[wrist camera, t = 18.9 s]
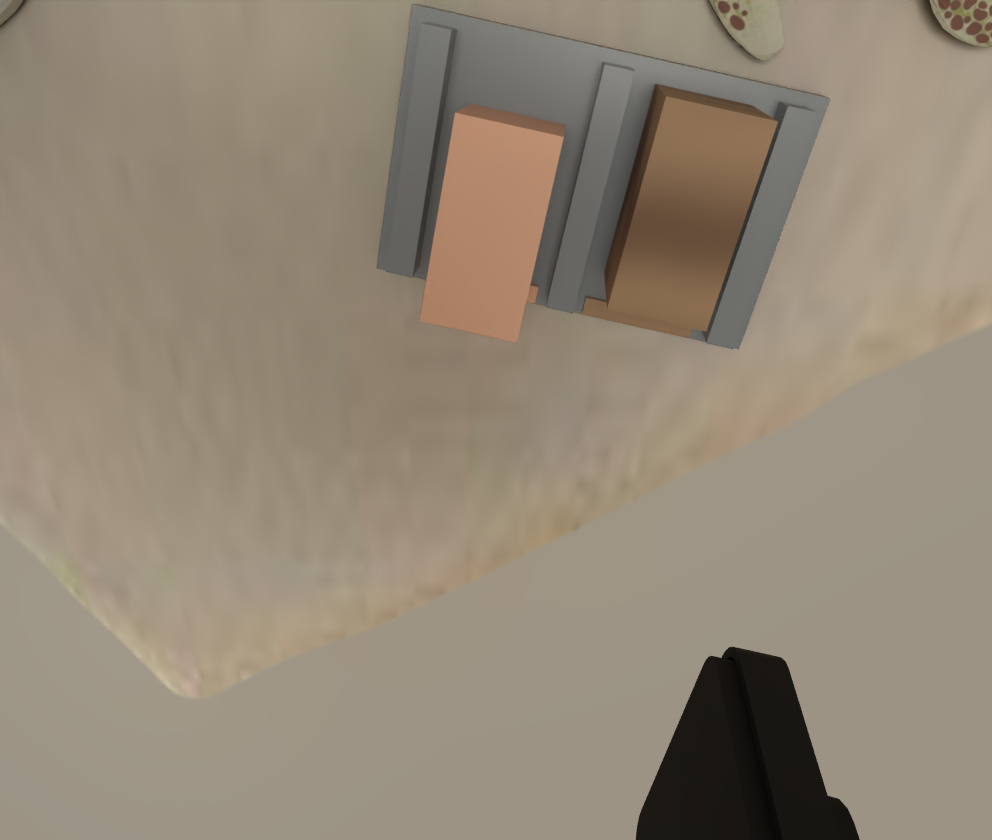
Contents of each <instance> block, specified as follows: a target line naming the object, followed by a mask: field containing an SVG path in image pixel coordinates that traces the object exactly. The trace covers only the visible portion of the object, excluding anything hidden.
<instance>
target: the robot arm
mask: <svg viewBox="0 0 992 840" xmlns="http://www.w3.org/2000/svg"><path fill="white" fill-rule="evenodd" d="M22 1H23V0H0V25H1V24H2V23H3V22H5V21H6V20H7V19H8V18H9V17H10V16H11V15H12V14H13V13H15V12H16V10H17V9H18V7H19V6H20V4H21V3H22ZM636 833H637V834H636V840H860V839H859V836H858V833H857V830H856V827H855V824H854V822H853V820H852V817H851V815H850V813H849V811H848V809H847V807H846V806H845V805H844V804H843V803H842V802H841V801H840V800H839V799H837V798H834V797H830V796H827V792H826V789H825V786H824V782H823V779H822V776H821V773H820V769H819V766H818V763H817V760H816V756H815V753H814V750H813V746H812V743H811V740H810V737H809V733H808V730H807V727H806V724H805V720H804V717H803V714H802V711H801V707H800V704H799V701H798V698H797V694H796V691H795V688H794V684H793V681H792V678H791V675H790V671H789V668H788V666H787V664H786V662H785V661H784V660H783V659H782V658H781V657H777V656H772V655H768V654H763V653H759V652H754V651H750V650H745V649H741V648H735V647H729V648H728V649H727V650H726V651H725V653H724V654H723V656H722V658H719V657H714V656H710V657H708V658H707V659H706V661H705V663H704V665H703V667H702V670H701V672H700V674H699V676H698V679H697V681H696V683H695V686H694V688H693V691H692V693H691V695H690V697H689V700H688V702H687V704H686V707H685V709H684V712H683V714H682V716H681V719H680V721H679V724H678V726H677V728H676V730H675V733H674V735H673V737H672V740H671V742H670V744H669V747H668V749H667V751H666V754H665V756H664V758H663V761H662V763H661V765H660V768H659V770H658V772H657V775H656V777H655V780H654V782H653V784H652V786H651V789H650V791H649V794H648V796H647V798H646V801H645V803H644V805H643V808H642V810H641V813H640V816H639V821H638V825H637V832H636Z"/></svg>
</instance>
